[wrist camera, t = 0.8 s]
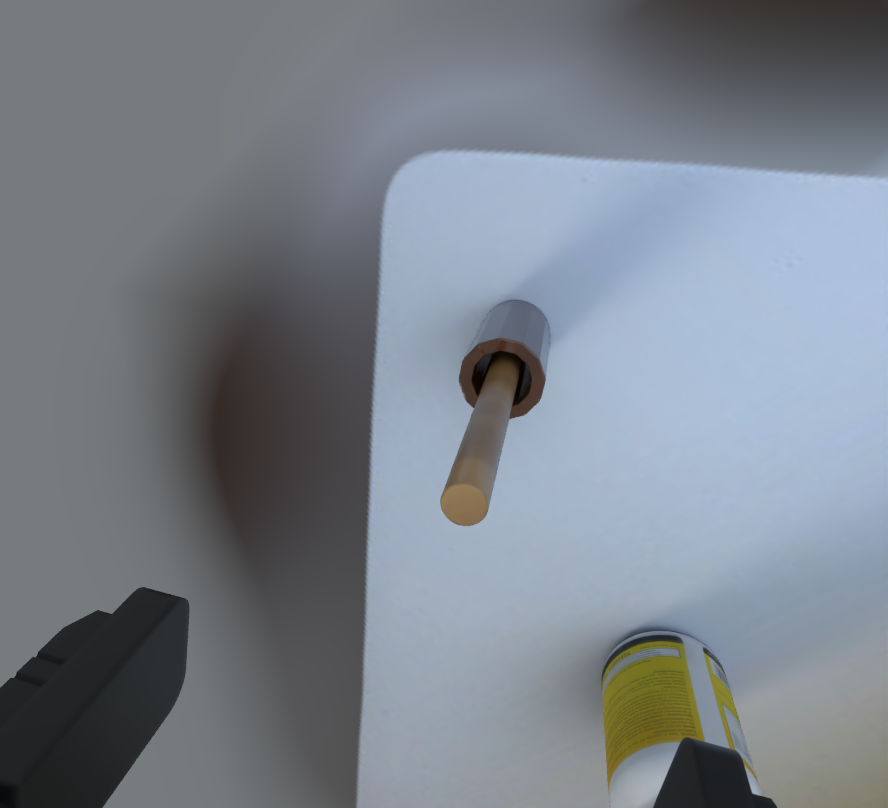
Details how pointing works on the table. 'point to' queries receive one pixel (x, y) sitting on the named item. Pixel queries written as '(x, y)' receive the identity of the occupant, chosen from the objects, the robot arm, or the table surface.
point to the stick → (482, 444)
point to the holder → (514, 333)
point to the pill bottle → (663, 712)
